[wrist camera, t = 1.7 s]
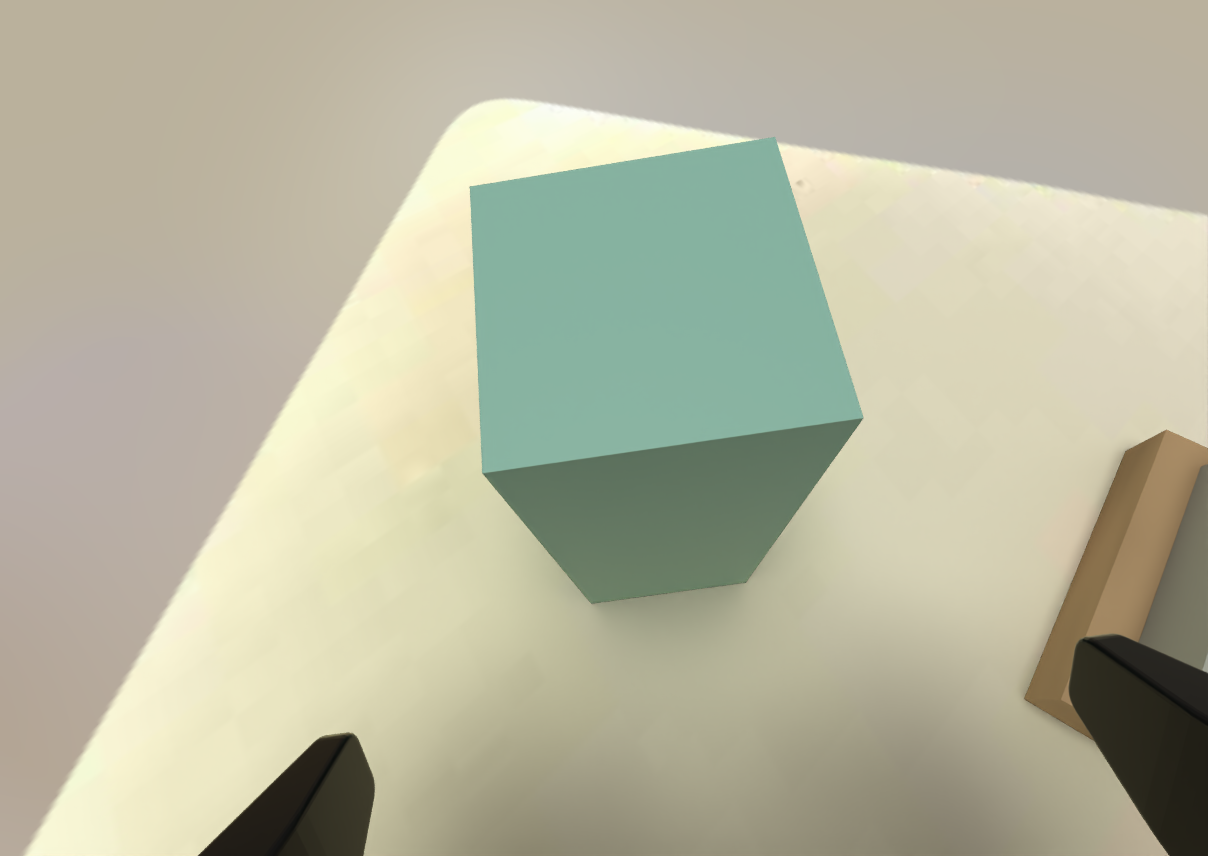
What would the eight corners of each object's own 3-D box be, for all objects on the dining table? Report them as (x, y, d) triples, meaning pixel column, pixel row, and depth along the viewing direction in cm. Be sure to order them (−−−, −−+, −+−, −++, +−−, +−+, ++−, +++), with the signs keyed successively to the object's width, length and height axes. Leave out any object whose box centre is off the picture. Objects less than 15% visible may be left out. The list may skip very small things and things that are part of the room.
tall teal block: (746, 582, 20) (863, 417, 8) (591, 603, 20) (481, 473, 8) (716, 439, 22) (775, 136, 10) (575, 459, 22) (469, 186, 10)
